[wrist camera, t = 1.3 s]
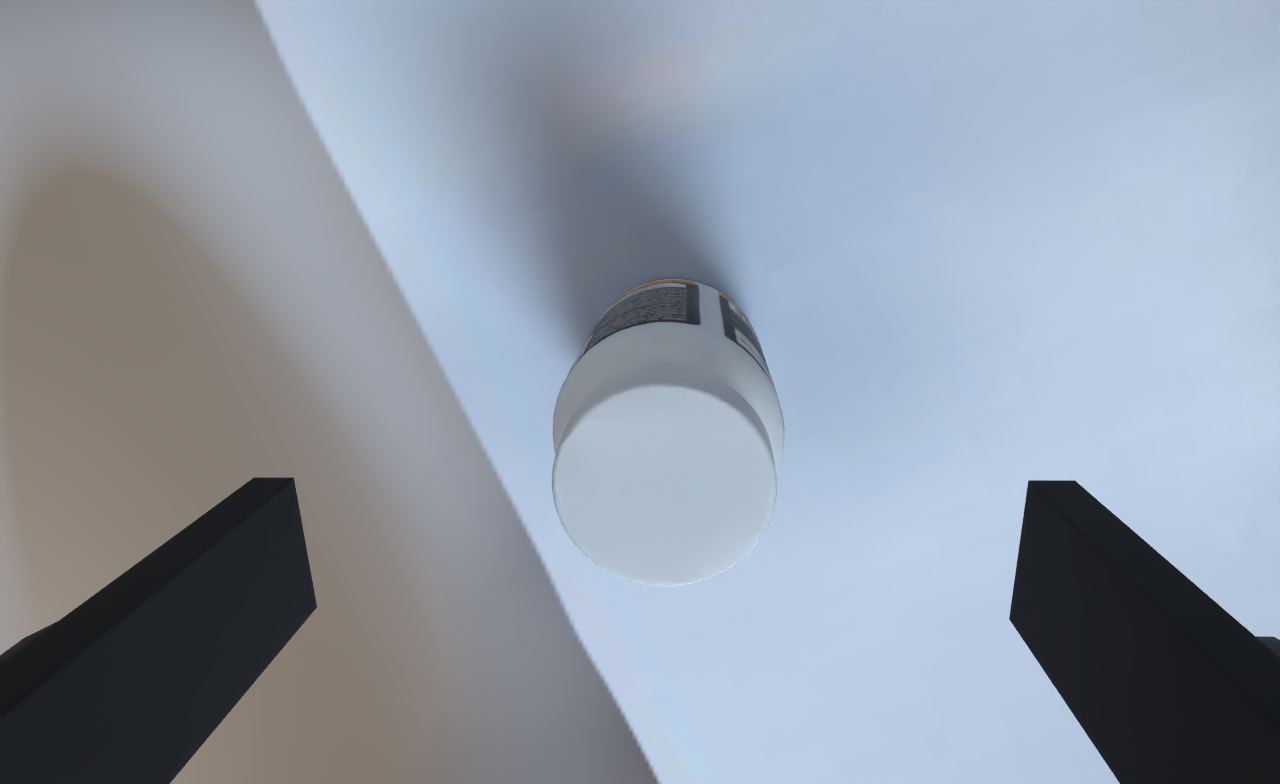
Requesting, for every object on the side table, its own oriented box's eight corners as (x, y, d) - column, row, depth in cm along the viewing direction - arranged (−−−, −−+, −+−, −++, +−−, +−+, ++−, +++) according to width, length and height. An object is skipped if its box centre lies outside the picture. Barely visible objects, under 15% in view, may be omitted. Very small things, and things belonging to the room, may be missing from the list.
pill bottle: (574, 419, 26) (501, 577, 16) (609, 255, 24) (550, 326, 15) (736, 458, 26) (757, 638, 16) (783, 297, 24) (838, 395, 15)
